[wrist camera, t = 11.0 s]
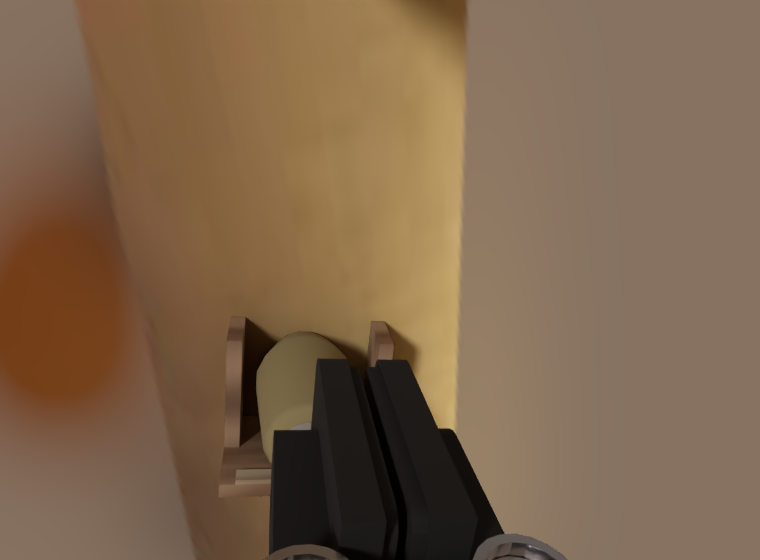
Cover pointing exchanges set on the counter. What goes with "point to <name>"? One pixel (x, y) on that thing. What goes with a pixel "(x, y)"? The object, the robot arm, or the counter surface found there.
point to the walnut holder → (243, 433)
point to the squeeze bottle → (290, 384)
